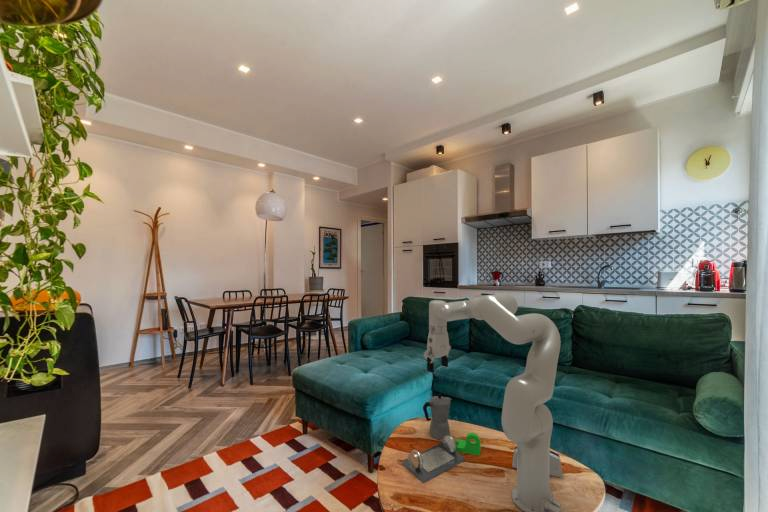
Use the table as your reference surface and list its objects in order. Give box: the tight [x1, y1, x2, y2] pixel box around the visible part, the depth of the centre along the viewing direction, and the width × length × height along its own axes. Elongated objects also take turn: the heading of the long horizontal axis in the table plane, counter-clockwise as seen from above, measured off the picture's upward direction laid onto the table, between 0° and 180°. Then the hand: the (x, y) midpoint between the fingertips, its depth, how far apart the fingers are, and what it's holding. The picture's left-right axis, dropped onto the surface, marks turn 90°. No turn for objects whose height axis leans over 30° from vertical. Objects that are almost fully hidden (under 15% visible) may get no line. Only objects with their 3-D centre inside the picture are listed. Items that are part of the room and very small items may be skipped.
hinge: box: [511, 444, 564, 479], centre depth 119 cm, size 17×5×10 cm, turn 70°
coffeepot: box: [422, 393, 453, 441], centre depth 144 cm, size 15×9×18 cm, turn 117°
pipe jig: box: [402, 434, 465, 483], centre depth 124 cm, size 21×12×8 cm, turn 125°
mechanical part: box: [455, 432, 482, 456], centre depth 133 cm, size 12×6×8 cm, turn 71°
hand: (437, 368), depth 140 cm, fingers open, 9 cm apart
